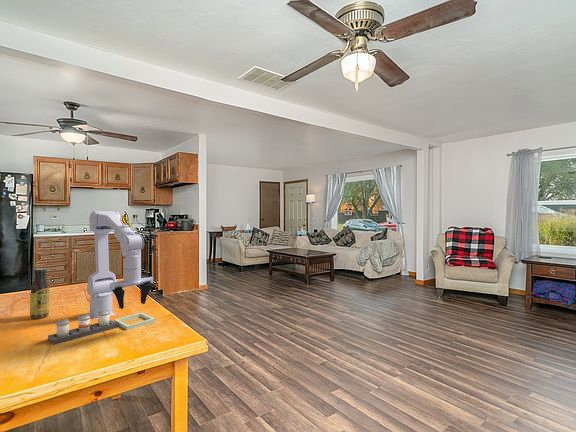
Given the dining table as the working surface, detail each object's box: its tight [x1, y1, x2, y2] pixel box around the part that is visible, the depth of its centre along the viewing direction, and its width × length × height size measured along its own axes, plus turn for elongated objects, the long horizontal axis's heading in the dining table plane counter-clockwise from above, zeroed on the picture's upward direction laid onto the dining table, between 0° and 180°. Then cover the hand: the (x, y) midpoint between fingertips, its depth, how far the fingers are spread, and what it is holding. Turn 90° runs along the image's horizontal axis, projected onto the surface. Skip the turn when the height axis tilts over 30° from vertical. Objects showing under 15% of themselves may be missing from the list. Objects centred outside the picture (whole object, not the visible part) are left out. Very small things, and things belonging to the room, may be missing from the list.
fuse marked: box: [77, 314, 91, 333], centre depth 114 cm, size 4×4×6 cm
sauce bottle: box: [29, 267, 50, 320], centre depth 132 cm, size 7×6×20 cm
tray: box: [113, 312, 156, 331], centre depth 125 cm, size 11×11×2 cm
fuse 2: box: [97, 310, 110, 327], centre depth 119 cm, size 4×4×6 cm
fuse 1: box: [55, 319, 70, 338], centre depth 109 cm, size 4×4×6 cm
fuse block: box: [47, 319, 119, 346], centre depth 114 cm, size 7×20×2 cm, turn 141°
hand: (132, 305), depth 116 cm, fingers open, 7 cm apart
